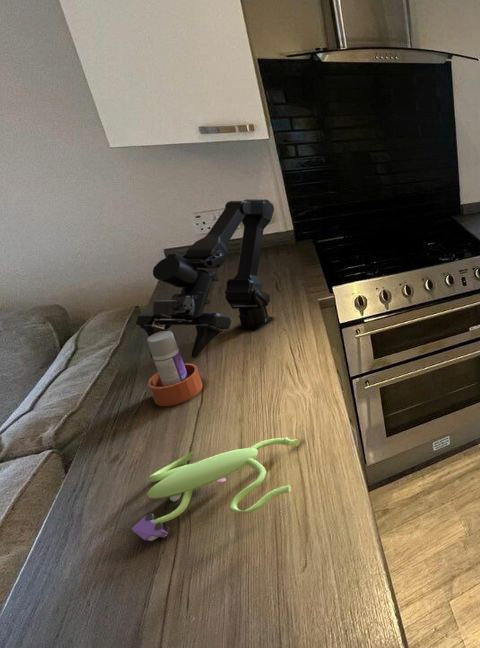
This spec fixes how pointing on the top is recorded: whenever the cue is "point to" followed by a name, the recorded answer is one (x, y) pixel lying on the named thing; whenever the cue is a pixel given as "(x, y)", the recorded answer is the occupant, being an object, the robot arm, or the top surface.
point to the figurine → (205, 483)
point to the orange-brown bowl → (176, 388)
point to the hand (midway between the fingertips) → (173, 357)
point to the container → (167, 358)
